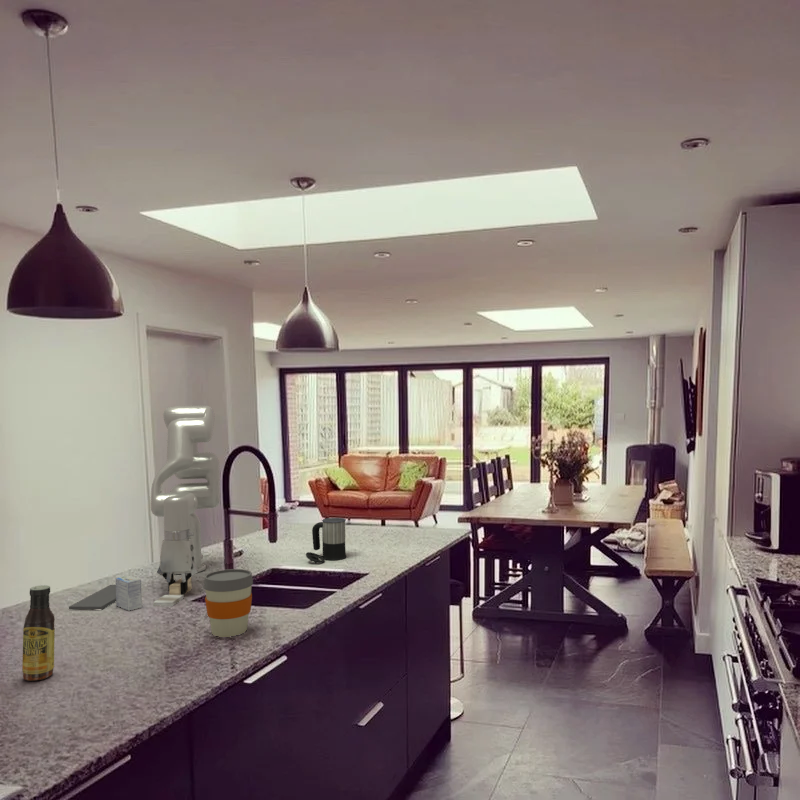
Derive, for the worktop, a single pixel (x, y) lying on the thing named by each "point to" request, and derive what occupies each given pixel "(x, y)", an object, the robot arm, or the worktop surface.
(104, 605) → the mat
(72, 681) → the worktop surface
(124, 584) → the medicine box
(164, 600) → the beige curved piece
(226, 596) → the reusable coffee cup
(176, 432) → the robot arm
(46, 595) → the sauce bottle
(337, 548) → the milk frother
